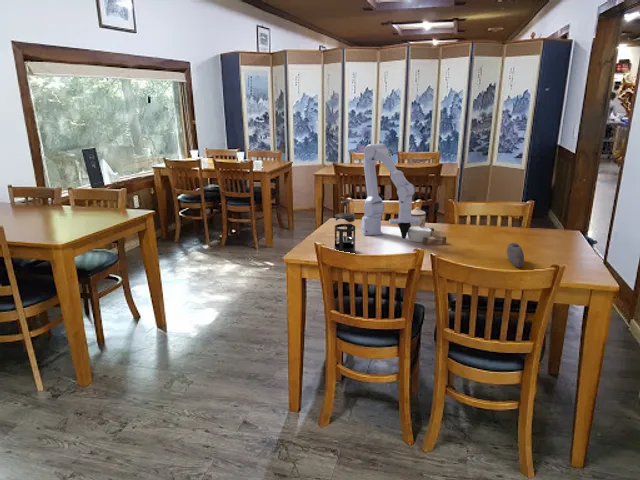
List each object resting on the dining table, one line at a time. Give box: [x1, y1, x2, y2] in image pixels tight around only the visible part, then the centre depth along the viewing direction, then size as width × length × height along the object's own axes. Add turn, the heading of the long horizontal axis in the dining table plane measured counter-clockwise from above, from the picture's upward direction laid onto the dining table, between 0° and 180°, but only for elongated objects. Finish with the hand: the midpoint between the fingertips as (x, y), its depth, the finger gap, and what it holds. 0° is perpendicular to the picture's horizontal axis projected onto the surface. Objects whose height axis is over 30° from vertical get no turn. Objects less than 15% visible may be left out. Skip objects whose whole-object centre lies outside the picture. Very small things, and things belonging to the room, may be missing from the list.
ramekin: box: [407, 226, 431, 243], centre depth 210 cm, size 11×11×5 cm
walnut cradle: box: [422, 227, 448, 246], centre depth 211 cm, size 11×17×3 cm, turn 8°
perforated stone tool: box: [506, 242, 525, 268], centre depth 177 cm, size 15×5×7 cm, turn 167°
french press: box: [334, 200, 357, 254], centre depth 190 cm, size 12×9×23 cm
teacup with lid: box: [410, 206, 427, 227], centre depth 228 cm, size 12×9×12 cm
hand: (403, 238), depth 209 cm, fingers closed
